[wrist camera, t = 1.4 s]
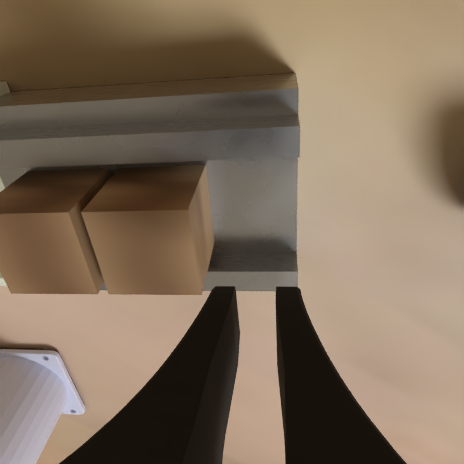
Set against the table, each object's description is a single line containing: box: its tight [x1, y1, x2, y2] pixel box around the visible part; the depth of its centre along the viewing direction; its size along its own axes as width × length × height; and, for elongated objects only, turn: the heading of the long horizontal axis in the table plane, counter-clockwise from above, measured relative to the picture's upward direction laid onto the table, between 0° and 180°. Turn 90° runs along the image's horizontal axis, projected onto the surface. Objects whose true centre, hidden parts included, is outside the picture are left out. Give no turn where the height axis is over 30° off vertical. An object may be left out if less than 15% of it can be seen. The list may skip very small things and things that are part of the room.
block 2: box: [81, 165, 215, 295], centre depth 17 cm, size 4×4×4 cm
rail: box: [0, 73, 300, 291], centre depth 19 cm, size 14×10×4 cm
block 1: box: [0, 168, 111, 294], centre depth 17 cm, size 4×4×4 cm
